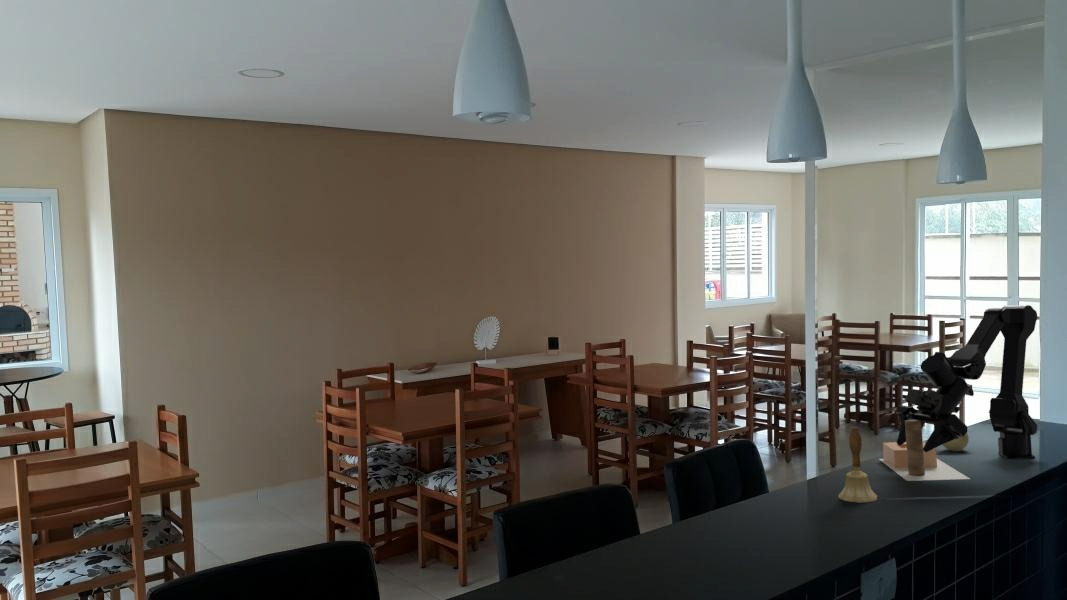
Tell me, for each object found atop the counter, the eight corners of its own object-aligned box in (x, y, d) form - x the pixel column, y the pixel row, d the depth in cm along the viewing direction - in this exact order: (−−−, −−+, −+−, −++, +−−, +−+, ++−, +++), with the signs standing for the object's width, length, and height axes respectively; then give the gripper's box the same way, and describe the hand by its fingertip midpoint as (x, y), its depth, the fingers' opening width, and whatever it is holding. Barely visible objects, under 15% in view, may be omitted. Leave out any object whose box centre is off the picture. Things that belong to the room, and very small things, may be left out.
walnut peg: (922, 472, 195) (918, 419, 195) (927, 475, 191) (923, 421, 191) (906, 472, 195) (902, 420, 195) (911, 476, 192) (907, 422, 192)
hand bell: (871, 492, 182) (866, 423, 182) (883, 502, 174) (878, 429, 174) (833, 494, 183) (829, 425, 183) (844, 503, 175) (839, 431, 174)
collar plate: (934, 458, 210) (933, 440, 210) (970, 480, 186) (969, 459, 186) (878, 460, 212) (877, 442, 212) (907, 482, 188) (905, 461, 188)
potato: (934, 452, 217) (932, 423, 217) (945, 447, 223) (943, 418, 223) (963, 455, 212) (961, 425, 212) (974, 449, 217) (972, 420, 217)
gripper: (899, 374, 203) (864, 421, 201) (954, 380, 185) (916, 432, 183) (927, 401, 205) (893, 449, 203) (984, 410, 187) (947, 462, 184)
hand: (910, 447), depth 193 cm, fingers open, 9 cm apart
